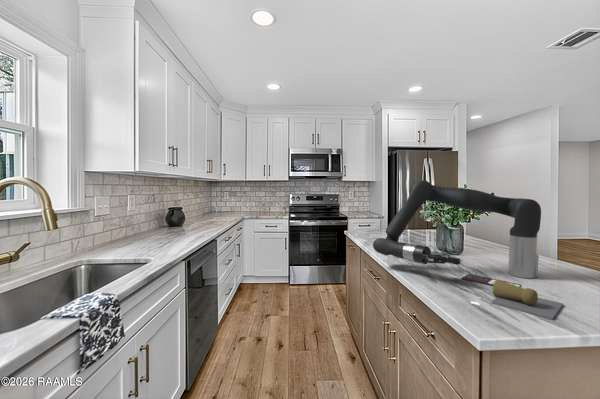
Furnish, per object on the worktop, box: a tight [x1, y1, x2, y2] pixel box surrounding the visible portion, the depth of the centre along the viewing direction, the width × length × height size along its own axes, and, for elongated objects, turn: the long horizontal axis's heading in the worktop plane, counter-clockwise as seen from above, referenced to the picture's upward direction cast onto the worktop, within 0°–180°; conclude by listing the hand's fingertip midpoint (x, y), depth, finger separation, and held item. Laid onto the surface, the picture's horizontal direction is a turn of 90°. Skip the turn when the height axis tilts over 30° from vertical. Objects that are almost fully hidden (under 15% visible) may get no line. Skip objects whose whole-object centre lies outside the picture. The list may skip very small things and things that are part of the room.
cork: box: [492, 279, 539, 305], centre depth 93 cm, size 6×6×11 cm
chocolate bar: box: [461, 273, 522, 288], centre depth 112 cm, size 9×1×18 cm
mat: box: [491, 297, 564, 321], centre depth 91 cm, size 15×16×1 cm
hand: (459, 261), depth 107 cm, fingers closed
